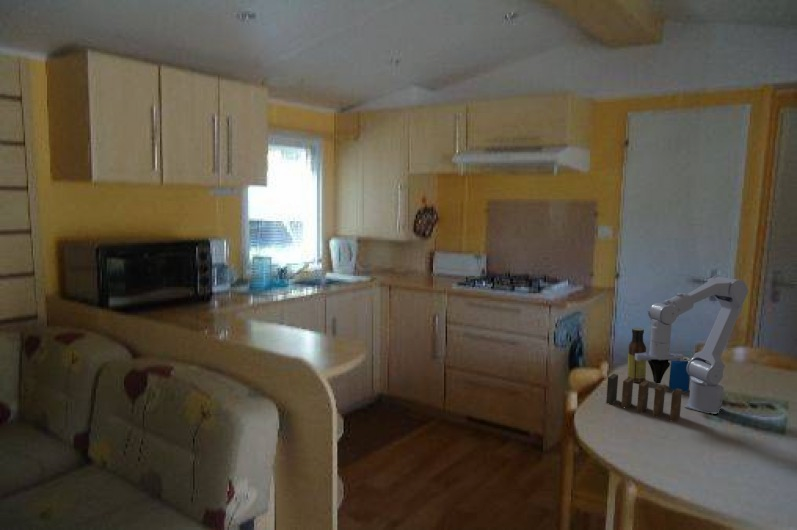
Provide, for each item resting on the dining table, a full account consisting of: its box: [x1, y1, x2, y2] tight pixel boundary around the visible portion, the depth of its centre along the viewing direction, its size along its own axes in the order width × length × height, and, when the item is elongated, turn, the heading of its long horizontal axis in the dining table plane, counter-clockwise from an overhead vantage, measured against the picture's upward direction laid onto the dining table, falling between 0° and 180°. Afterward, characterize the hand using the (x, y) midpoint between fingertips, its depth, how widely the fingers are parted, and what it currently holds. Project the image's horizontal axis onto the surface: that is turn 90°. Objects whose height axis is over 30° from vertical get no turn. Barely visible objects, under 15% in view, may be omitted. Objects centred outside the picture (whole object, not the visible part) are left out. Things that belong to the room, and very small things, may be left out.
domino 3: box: [636, 380, 650, 413], centre depth 183 cm, size 2×5×9 cm, turn 139°
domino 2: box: [620, 376, 634, 409], centre depth 186 cm, size 2×5×9 cm, turn 139°
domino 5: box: [669, 389, 683, 422], centre depth 177 cm, size 2×5×9 cm, turn 139°
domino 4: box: [652, 384, 666, 418], centre depth 180 cm, size 2×5×9 cm, turn 139°
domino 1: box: [605, 373, 619, 405], centre depth 190 cm, size 2×5×9 cm, turn 139°
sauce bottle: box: [627, 327, 647, 384], centre depth 210 cm, size 7×6×20 cm
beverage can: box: [668, 356, 691, 394], centre depth 200 cm, size 6×6×12 cm
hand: (657, 382), depth 180 cm, fingers closed
